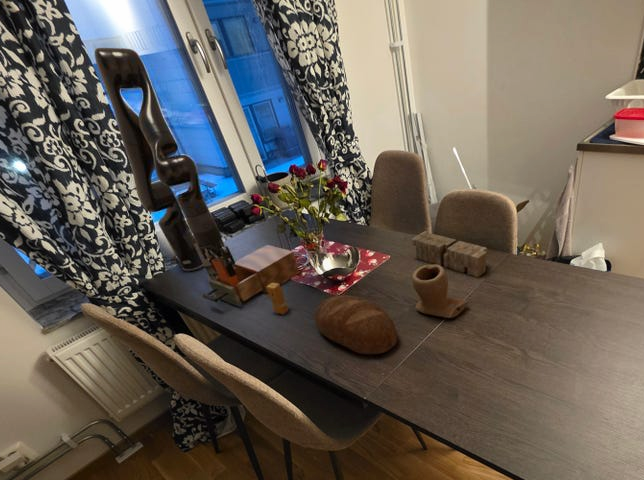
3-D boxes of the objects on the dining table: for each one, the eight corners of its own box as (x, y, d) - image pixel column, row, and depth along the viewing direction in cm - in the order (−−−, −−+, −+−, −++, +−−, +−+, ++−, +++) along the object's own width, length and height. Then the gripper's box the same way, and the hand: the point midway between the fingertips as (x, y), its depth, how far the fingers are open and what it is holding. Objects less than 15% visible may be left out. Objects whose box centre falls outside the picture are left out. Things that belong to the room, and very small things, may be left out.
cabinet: (266, 293, 139) (258, 271, 133) (241, 284, 146) (232, 263, 140) (300, 272, 148) (293, 251, 143) (274, 265, 155) (267, 244, 150)
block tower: (489, 270, 138) (426, 249, 153) (491, 248, 132) (425, 229, 147) (477, 280, 134) (413, 257, 149) (478, 258, 128) (411, 236, 143)
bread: (373, 367, 104) (365, 334, 96) (305, 331, 119) (294, 300, 112) (410, 337, 112) (406, 304, 105) (342, 307, 127) (334, 276, 120)
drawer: (226, 314, 129) (217, 297, 124) (203, 304, 135) (193, 287, 131) (273, 285, 141) (266, 268, 136) (250, 277, 147) (243, 261, 143)
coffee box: (228, 282, 148) (209, 242, 137) (212, 283, 148) (192, 244, 138) (236, 270, 155) (219, 231, 144) (221, 271, 155) (203, 233, 145)
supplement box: (289, 309, 129) (280, 283, 123) (283, 315, 127) (272, 288, 121) (282, 307, 131) (272, 281, 124) (275, 313, 128) (264, 287, 122)
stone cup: (408, 316, 120) (402, 273, 110) (426, 297, 127) (423, 255, 117) (452, 328, 114) (450, 283, 104) (469, 307, 121) (468, 263, 111)
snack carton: (227, 293, 137) (211, 260, 129) (234, 289, 139) (219, 256, 130) (236, 297, 135) (220, 263, 126) (244, 292, 136) (228, 259, 128)
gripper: (227, 225, 119) (247, 272, 130) (201, 219, 126) (222, 264, 137) (206, 235, 115) (228, 283, 126) (180, 228, 122) (203, 274, 132)
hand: (225, 273), depth 131 cm, fingers open, 8 cm apart
